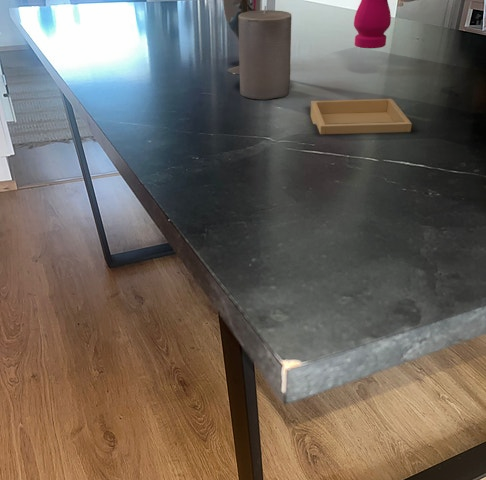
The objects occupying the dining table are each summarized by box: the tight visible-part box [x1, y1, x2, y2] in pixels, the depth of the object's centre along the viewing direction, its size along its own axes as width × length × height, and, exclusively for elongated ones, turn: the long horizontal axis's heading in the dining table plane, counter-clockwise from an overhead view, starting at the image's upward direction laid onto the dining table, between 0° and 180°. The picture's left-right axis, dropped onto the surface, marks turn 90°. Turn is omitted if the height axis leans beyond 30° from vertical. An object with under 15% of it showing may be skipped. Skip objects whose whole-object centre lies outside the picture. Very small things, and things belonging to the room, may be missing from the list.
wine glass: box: [222, 0, 262, 75], centre depth 112 cm, size 8×8×15 cm
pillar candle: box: [238, 5, 292, 100], centre depth 98 cm, size 10×10×15 cm
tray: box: [310, 98, 413, 135], centre depth 84 cm, size 14×13×3 cm
